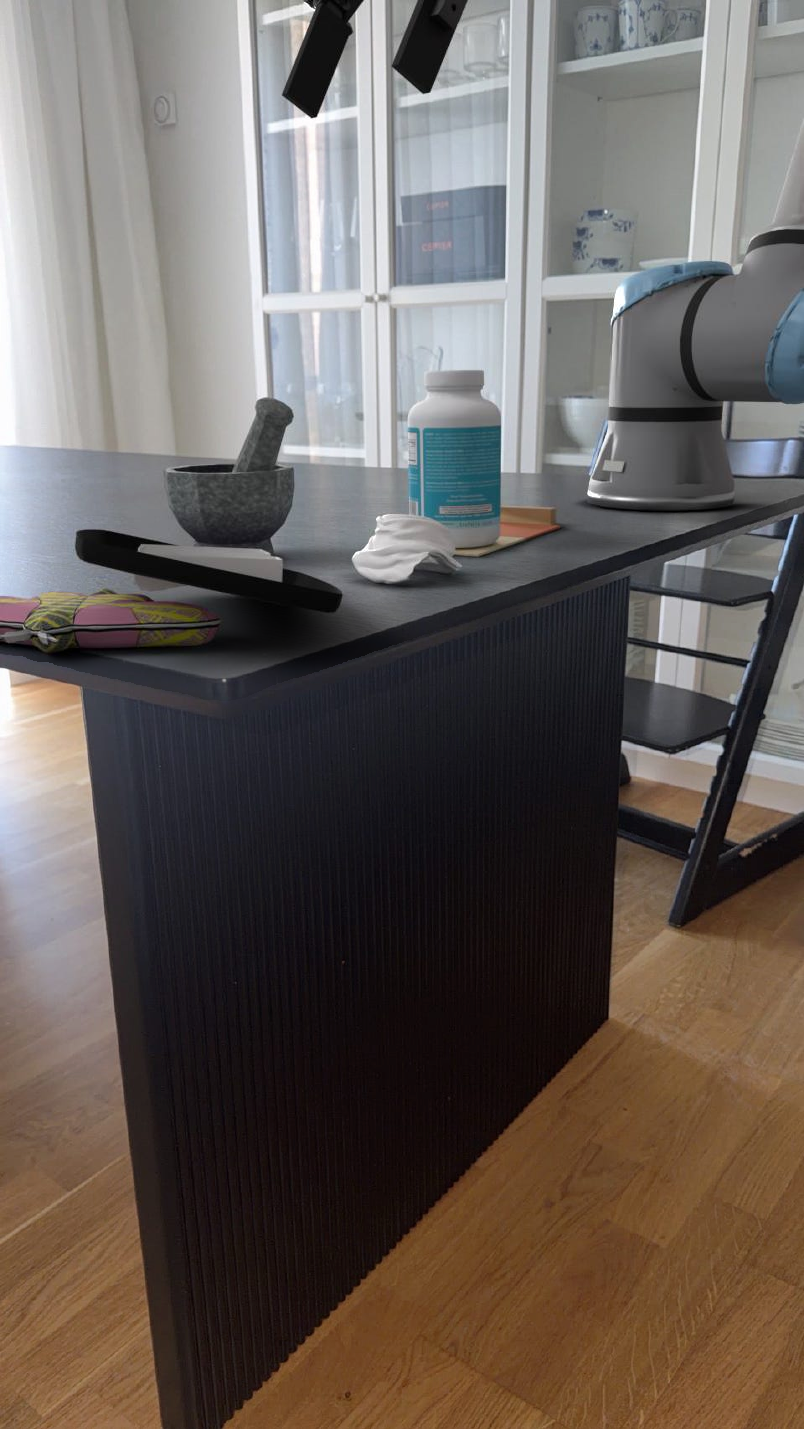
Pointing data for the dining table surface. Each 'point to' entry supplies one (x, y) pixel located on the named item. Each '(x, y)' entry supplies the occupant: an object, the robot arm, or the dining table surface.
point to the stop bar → (528, 515)
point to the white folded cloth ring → (406, 549)
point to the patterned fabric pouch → (103, 621)
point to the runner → (508, 537)
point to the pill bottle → (456, 457)
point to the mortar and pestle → (238, 488)
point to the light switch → (206, 569)
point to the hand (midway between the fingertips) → (350, 94)
